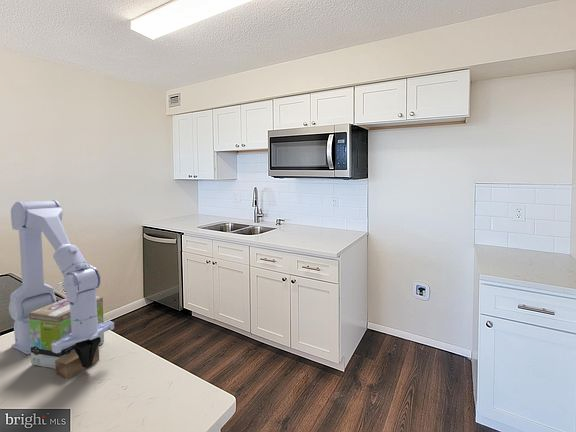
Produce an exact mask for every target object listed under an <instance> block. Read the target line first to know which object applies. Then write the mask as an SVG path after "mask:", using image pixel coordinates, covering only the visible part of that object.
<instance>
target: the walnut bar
mask: <svg viewBox="0 0 576 432" xmlns="http://www.w3.org/2000/svg"><path fill="white" fill-rule="evenodd" d="M99 361H100V346H98V347H97V349H96V352H95V355H94V358H93V363H92V365H94V364H95V363H97V362H99ZM55 367H56V369H55V375H56V376H58V377H59V378H64V379H69V378H71V377H73V376H74V375H76V374H78V373H79V372H81V371H83V370H84V369H86V368H84V367H82V364H81V361H80V359H79V357H78V355H77V353H76V352H75V351H73V352H71V353H69V354H67V355H65V356H63V357H61V358H59V359H57V360H55Z"/></svg>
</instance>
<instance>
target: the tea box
mask: <svg viewBox="0 0 576 432" xmlns="http://www.w3.org/2000/svg"><path fill="white" fill-rule="evenodd" d="M103 298H104V297H103V296H97V295H96V302H97V320H98V324H101V323H105V322H104V301H103ZM29 323H30V345H31V354H30V361H31V362H30V363H31V365H32V366H39V367H43V368H44V367H46V368H51V369H54V370H56V367H55V360H57V359H59V358H61V357H63V356H65V355H67V354H69V353H71V352H73V351H75V350H74V349H73V348H72V347H71V346H70V347H68V348H66V349H63V350H61V352H60V353H54V352H52V344H53V343H55V342H57V341H59V340H61V339H63V338H64V337H66V336H68V335H69V334H71V333H72V332H71V316H70V301H68V300H67V297H66V298H62V299H60V300H58V301H56V302H55V303H53V304H50V305H47V306H45V307H42V308H40V309H37V310H35V311H32V312H30V313H29ZM98 337H100V338H101V342H100V344H99V345H98V347H100V345H101V346H102V344H104V343H105V332H103V333H101V334H98Z"/></svg>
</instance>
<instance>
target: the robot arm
mask: <svg viewBox="0 0 576 432" xmlns="http://www.w3.org/2000/svg"><path fill="white" fill-rule="evenodd" d="M63 215H64V213H63V208H62V205H61V203H59V201H58V200H56V199H52V200H36V201H35V200H34V201H20V200H19V201H15V203H14V204H12V207H11V208H10V220H11V221H10V222H11V226H12V227H11V228H12V230H14V231H18V235H19V239H18V240H19V252H20V253H19V254H20V269H21V286H20V287H18V288H17V289H15V290H14V291H12V293H10V297H9V299H10V300H9V303H8V312H9V315H10V317H11V318H12V320H13V321H14V323H13V333H14V335H13V336H14V343H13V344H11V347H12V348H14V349H15V350H18V351H20V352H22V353H24V354H26V355H31V345H30V323H29V313H30V312H32V311H35V310H37V309H40V308H42V307H45V306H47V305H50V304H53V303H55V302H57V297H56V294H55V290H54V287H52V286H51V285H49V284H47V283H45V280H44V279H45V278H44V262H43V261H44V260H43V240H42V239H43V237H42V233H43V235H44V236H45V238H46V239H47V241H48V242H49V244H50V245H51V246H52V248H53V249H54V251H55V252H54V253H53V257H52V258H53V260H54V261H55V263H56V265H57V267H58V268H59V270H60V272H61V274H62V276H63V281H62V286H63V289H64V291H65V294H66V298H67V300H68V301H70V316H71V332H72V333H71V334H69V335H68V336H66V337H64V338H63V339H61V340H59V341H57V342H55V343H53V344H52V352H54V353H60V352H61V350H63V349H66V348H68V347H70V346H71V347H72V348H73V349H74V350H75V352H76V353H77V355H78V357H79V359H80V361H81V364H82V367H84V368H85V369H89V368H90V367H92V366H93V364H94V363H93V358H94V355H95V352H96V349H97V347H99V346H100V345H99V344H100V342H101V338H100V337H98V334H101V333H103V332H104V333H105V332H107V331H113V330H114V329H115V322H114V321H111V320H108V321H105V322H104V323H101V324H98V320H97V302H96V296H97V289H98V288H100V286H101V275H100V272H99V270H98V269H97V268H96V267H95V266H93V265H92V264H90V263H88V262H87V261H86V259H85V257H84V256H83V254H82V252H81V250H80V249H79V247H78V245H74V244H71V241H70V240H69V236H68V235H67V233H66V230H65V228H64V225H63V224H62V220H63ZM98 345H99V346H98ZM92 363H93V364H92Z"/></svg>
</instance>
